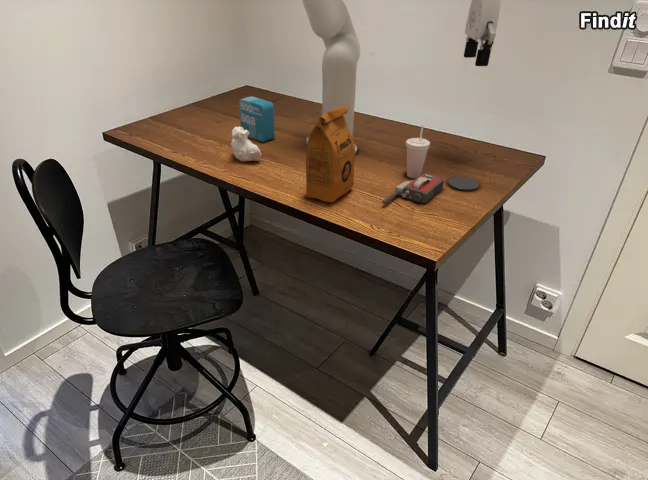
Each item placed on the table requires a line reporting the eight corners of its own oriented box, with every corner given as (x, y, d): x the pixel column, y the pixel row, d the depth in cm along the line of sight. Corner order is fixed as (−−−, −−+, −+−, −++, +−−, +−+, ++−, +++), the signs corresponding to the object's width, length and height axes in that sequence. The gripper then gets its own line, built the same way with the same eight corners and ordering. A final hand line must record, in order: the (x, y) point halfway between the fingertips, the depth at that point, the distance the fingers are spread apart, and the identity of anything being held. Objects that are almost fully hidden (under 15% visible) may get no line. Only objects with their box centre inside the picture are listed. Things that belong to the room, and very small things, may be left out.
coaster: (452, 191, 135) (452, 189, 135) (444, 178, 142) (444, 176, 141) (482, 191, 135) (483, 189, 135) (473, 178, 142) (474, 176, 141)
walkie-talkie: (415, 179, 142) (379, 206, 129) (417, 164, 139) (380, 190, 126) (445, 187, 137) (410, 216, 124) (448, 171, 135) (413, 199, 122)
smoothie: (425, 180, 141) (433, 130, 133) (401, 179, 142) (407, 129, 134) (425, 171, 146) (432, 122, 138) (402, 170, 147) (407, 121, 139)
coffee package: (359, 191, 136) (365, 107, 124) (331, 208, 129) (334, 120, 116) (329, 181, 142) (331, 100, 129) (300, 196, 134) (300, 112, 121)
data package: (240, 134, 173) (238, 98, 166) (251, 131, 176) (249, 95, 169) (264, 143, 166) (263, 105, 159) (275, 139, 168) (274, 102, 162)
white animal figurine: (233, 160, 160) (212, 138, 151) (247, 141, 161) (227, 118, 152) (257, 172, 153) (237, 149, 144) (272, 151, 153) (253, 128, 144)
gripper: (463, -16, 135) (451, 54, 145) (486, -7, 121) (471, 69, 130) (492, -16, 135) (478, 54, 145) (517, -8, 121) (500, 69, 131)
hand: (475, 61), depth 138 cm, fingers open, 9 cm apart
